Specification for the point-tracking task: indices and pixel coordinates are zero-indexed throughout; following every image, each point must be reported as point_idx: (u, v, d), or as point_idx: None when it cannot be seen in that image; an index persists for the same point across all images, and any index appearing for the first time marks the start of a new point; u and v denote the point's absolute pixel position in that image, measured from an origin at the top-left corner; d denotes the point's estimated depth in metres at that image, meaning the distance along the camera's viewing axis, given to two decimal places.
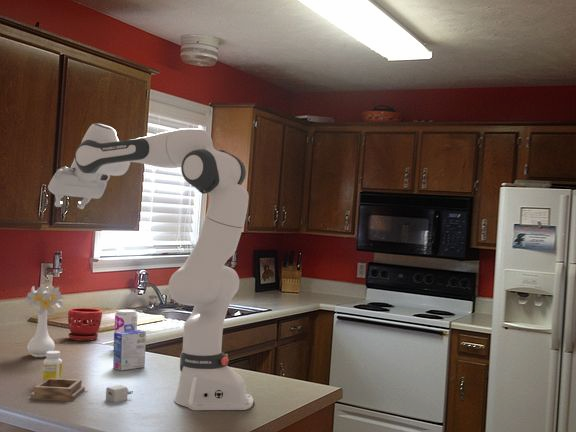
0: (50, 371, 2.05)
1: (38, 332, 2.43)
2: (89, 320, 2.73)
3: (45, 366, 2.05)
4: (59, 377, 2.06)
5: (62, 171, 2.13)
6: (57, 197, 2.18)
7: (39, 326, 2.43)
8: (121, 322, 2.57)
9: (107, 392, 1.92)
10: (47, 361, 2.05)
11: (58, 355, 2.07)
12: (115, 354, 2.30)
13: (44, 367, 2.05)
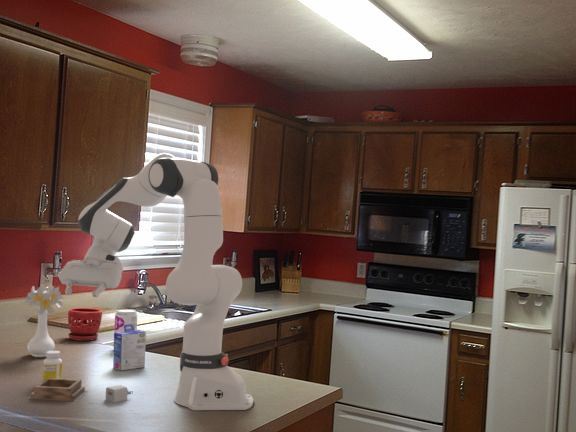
0: (50, 371, 2.05)
1: (38, 332, 2.43)
2: (89, 320, 2.73)
3: (45, 366, 2.05)
4: (59, 377, 2.06)
5: None
6: None
7: (39, 326, 2.43)
8: (121, 322, 2.57)
9: (107, 392, 1.92)
10: (47, 361, 2.05)
11: (58, 355, 2.07)
12: (115, 354, 2.30)
13: (44, 367, 2.05)
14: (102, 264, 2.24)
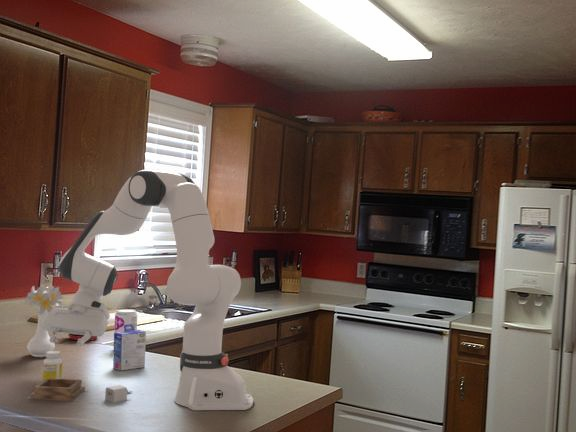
0: (50, 371, 2.05)
1: (38, 332, 2.43)
2: None
3: (45, 366, 2.05)
4: (59, 377, 2.06)
5: None
6: None
7: (39, 326, 2.43)
8: (121, 322, 2.57)
9: (106, 392, 1.92)
10: (47, 361, 2.05)
11: (58, 355, 2.07)
12: (115, 354, 2.30)
13: (44, 367, 2.05)
14: (87, 311, 2.19)
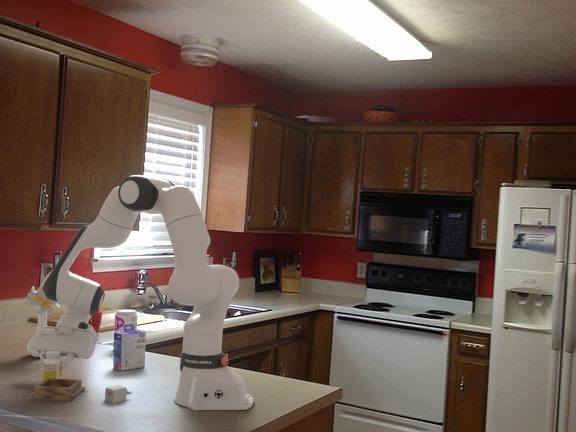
0: (50, 371, 2.05)
1: None
2: (89, 320, 2.73)
3: (45, 366, 2.05)
4: (59, 377, 2.06)
5: None
6: None
7: (39, 326, 2.43)
8: (121, 322, 2.57)
9: (106, 392, 1.92)
10: (47, 361, 2.05)
11: (58, 355, 2.07)
12: (115, 354, 2.30)
13: (44, 367, 2.05)
14: (74, 333, 2.12)
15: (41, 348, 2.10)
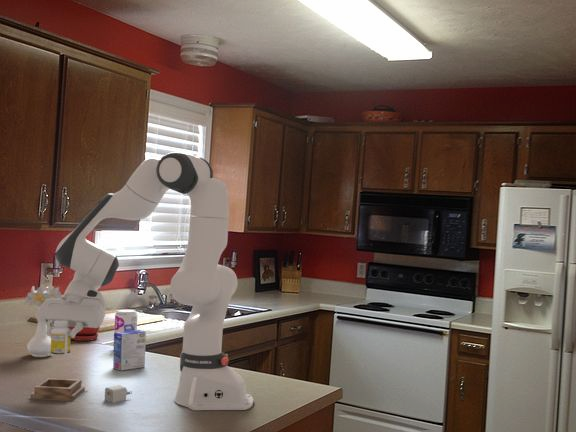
0: (58, 341, 1.95)
1: (38, 332, 2.43)
2: None
3: (53, 335, 1.96)
4: (68, 347, 1.97)
5: None
6: None
7: (39, 326, 2.43)
8: (121, 322, 2.57)
9: (106, 392, 1.92)
10: (55, 330, 1.96)
11: (66, 324, 1.97)
12: (115, 354, 2.30)
13: (52, 337, 1.96)
14: (83, 301, 2.02)
15: (48, 317, 2.01)
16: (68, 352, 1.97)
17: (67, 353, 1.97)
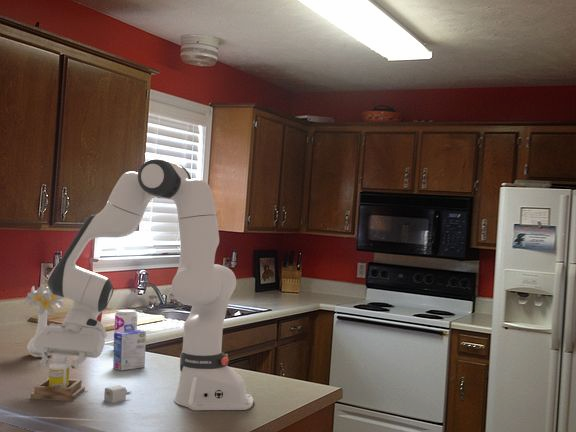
0: (56, 377, 1.92)
1: (38, 332, 2.43)
2: None
3: (52, 371, 1.93)
4: (66, 383, 1.94)
5: None
6: None
7: (39, 326, 2.43)
8: (121, 322, 2.57)
9: (105, 392, 1.92)
10: (53, 366, 1.93)
11: (65, 359, 1.94)
12: (115, 354, 2.30)
13: (50, 372, 1.93)
14: (82, 330, 1.99)
15: (47, 346, 1.98)
16: (66, 387, 1.94)
17: None
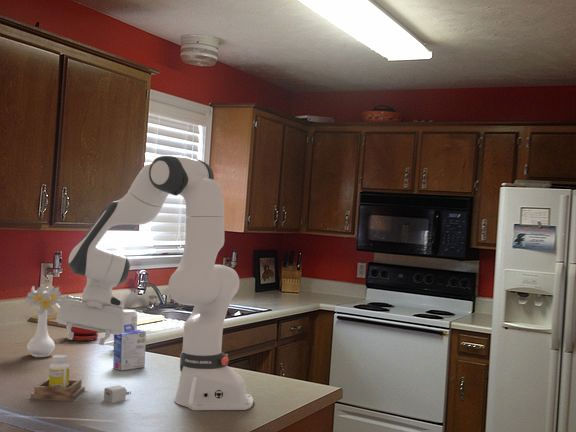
0: (56, 377, 1.92)
1: (38, 332, 2.43)
2: None
3: (52, 371, 1.93)
4: (66, 383, 1.94)
5: (66, 299, 2.13)
6: (67, 327, 2.08)
7: (39, 326, 2.43)
8: None
9: (105, 392, 1.92)
10: (53, 366, 1.93)
11: (65, 359, 1.94)
12: (115, 354, 2.30)
13: (50, 372, 1.93)
14: (107, 308, 2.13)
15: (73, 321, 2.09)
16: (67, 387, 1.94)
17: None
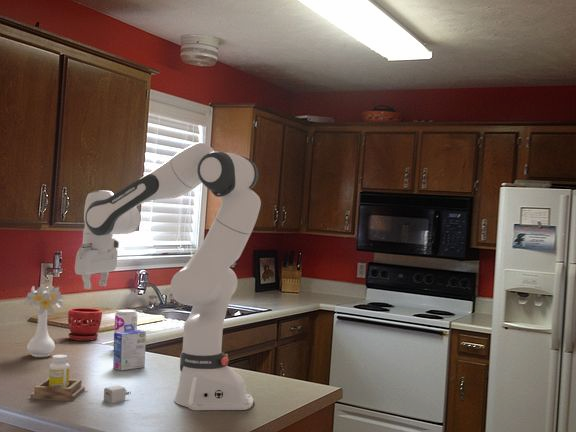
0: (56, 377, 1.92)
1: (38, 332, 2.43)
2: (89, 320, 2.73)
3: (52, 371, 1.93)
4: (66, 383, 1.94)
5: (83, 248, 2.04)
6: (86, 278, 2.07)
7: (39, 326, 2.43)
8: (121, 322, 2.57)
9: (105, 392, 1.92)
10: (54, 366, 1.93)
11: (65, 359, 1.94)
12: (115, 354, 2.30)
13: (50, 372, 1.93)
14: (110, 252, 2.16)
15: (92, 273, 2.08)
16: None
17: None
